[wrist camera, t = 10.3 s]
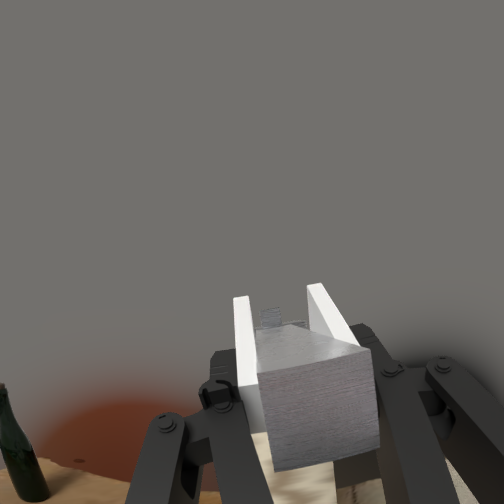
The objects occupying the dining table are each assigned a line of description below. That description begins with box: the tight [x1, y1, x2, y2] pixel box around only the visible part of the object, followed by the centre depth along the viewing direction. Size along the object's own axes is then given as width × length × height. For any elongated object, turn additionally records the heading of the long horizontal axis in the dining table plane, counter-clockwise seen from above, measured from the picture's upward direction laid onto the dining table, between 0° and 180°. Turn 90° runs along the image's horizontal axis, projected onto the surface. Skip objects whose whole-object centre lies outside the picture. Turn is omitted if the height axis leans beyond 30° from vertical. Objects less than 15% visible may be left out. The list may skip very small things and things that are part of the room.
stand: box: [251, 432, 337, 504], centre depth 36 cm, size 9×16×34 cm, turn 179°
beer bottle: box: [0, 383, 50, 502], centre depth 52 cm, size 10×10×33 cm
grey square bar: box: [254, 307, 380, 473], centre depth 20 cm, size 6×25×5 cm, turn 179°
